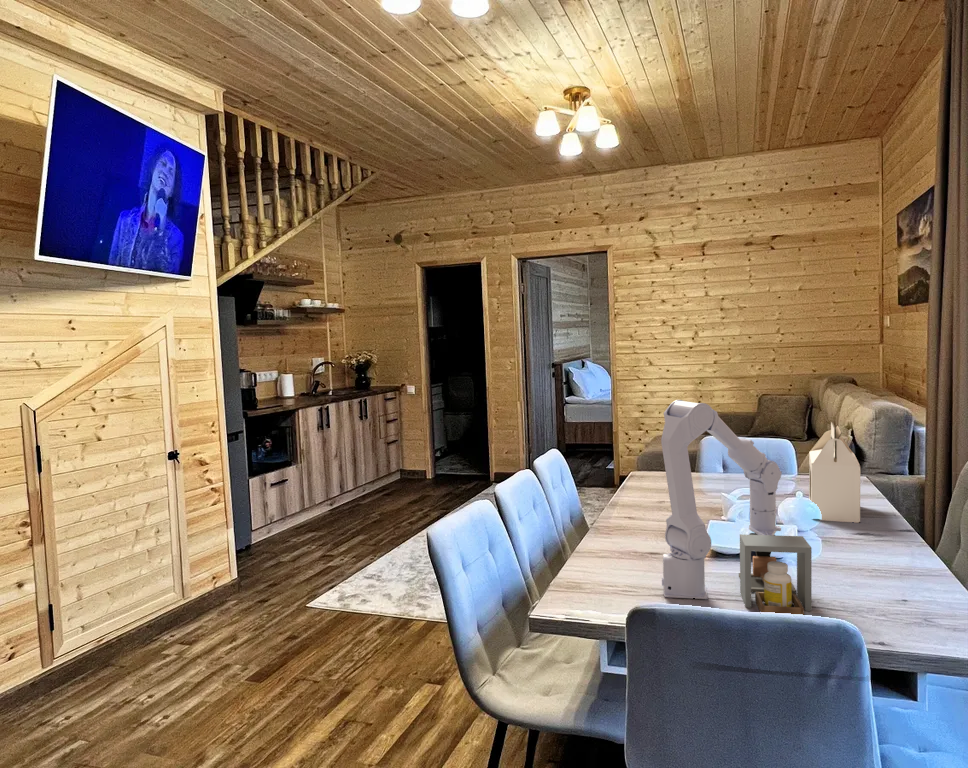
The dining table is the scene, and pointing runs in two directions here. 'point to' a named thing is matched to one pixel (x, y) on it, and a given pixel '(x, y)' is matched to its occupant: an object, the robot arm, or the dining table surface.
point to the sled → (760, 571)
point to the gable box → (835, 478)
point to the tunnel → (777, 545)
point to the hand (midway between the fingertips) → (762, 564)
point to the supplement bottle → (777, 585)
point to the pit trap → (761, 584)
